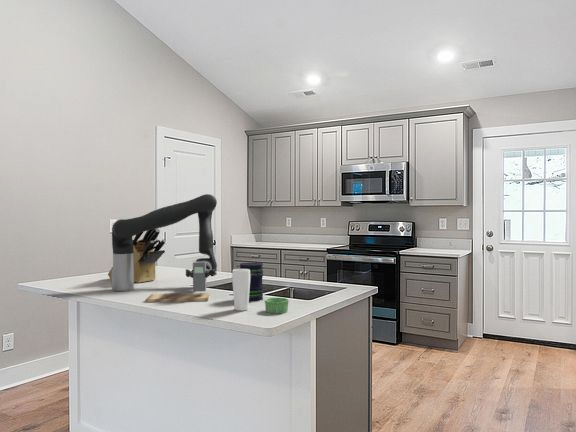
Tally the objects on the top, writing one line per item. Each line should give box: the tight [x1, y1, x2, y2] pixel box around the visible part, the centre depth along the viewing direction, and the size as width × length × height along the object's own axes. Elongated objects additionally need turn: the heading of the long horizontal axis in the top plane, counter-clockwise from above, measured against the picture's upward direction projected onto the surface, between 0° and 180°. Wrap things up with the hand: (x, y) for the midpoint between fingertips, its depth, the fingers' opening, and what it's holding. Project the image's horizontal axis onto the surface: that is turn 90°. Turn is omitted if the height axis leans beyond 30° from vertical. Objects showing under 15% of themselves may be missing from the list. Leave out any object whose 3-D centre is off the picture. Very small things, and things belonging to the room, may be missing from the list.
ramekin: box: [264, 297, 290, 314], centre depth 169 cm, size 9×9×4 cm
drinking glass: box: [231, 268, 250, 312], centre depth 171 cm, size 7×7×15 cm
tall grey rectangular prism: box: [192, 261, 207, 293], centre depth 193 cm, size 5×5×12 cm
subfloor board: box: [145, 292, 211, 303], centre depth 193 cm, size 25×12×1 cm, turn 95°
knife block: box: [107, 228, 166, 284], centre depth 244 cm, size 11×35×31 cm, turn 57°
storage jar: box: [239, 262, 264, 302], centre depth 192 cm, size 10×10×15 cm
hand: (199, 275), depth 191 cm, fingers closed on tall grey rectangular prism, 5 cm apart
